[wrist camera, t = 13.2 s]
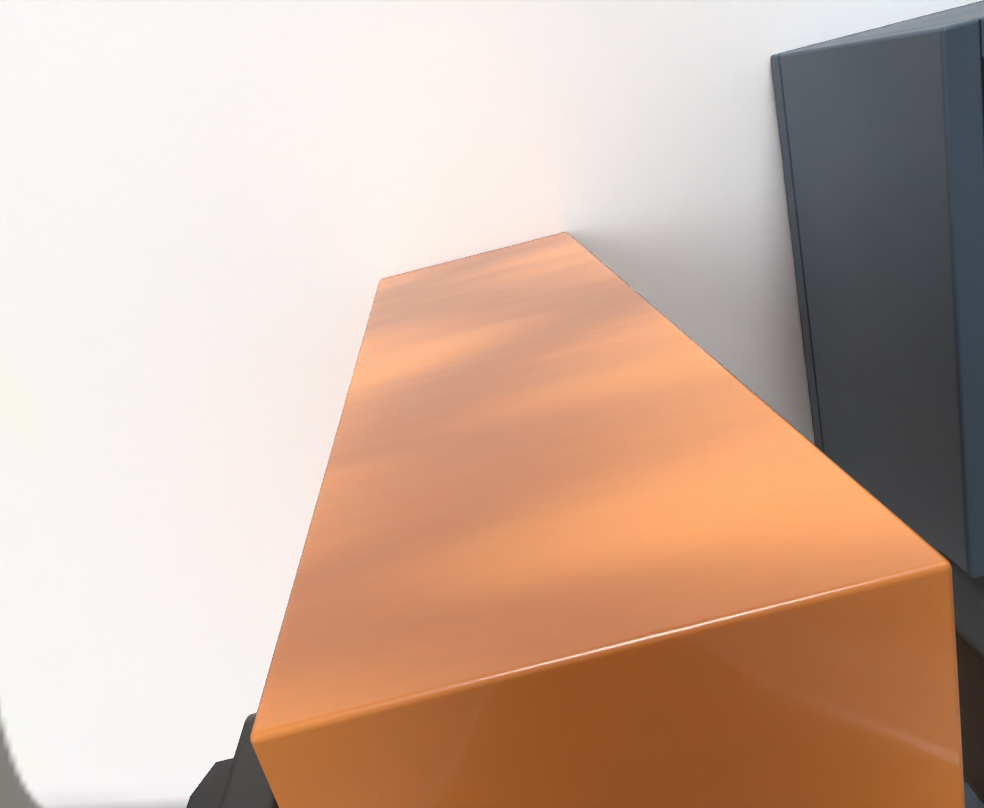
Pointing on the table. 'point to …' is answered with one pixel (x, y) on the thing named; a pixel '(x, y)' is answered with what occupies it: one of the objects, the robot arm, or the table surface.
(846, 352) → the tote
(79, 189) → the table surface
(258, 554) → the table surface
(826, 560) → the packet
